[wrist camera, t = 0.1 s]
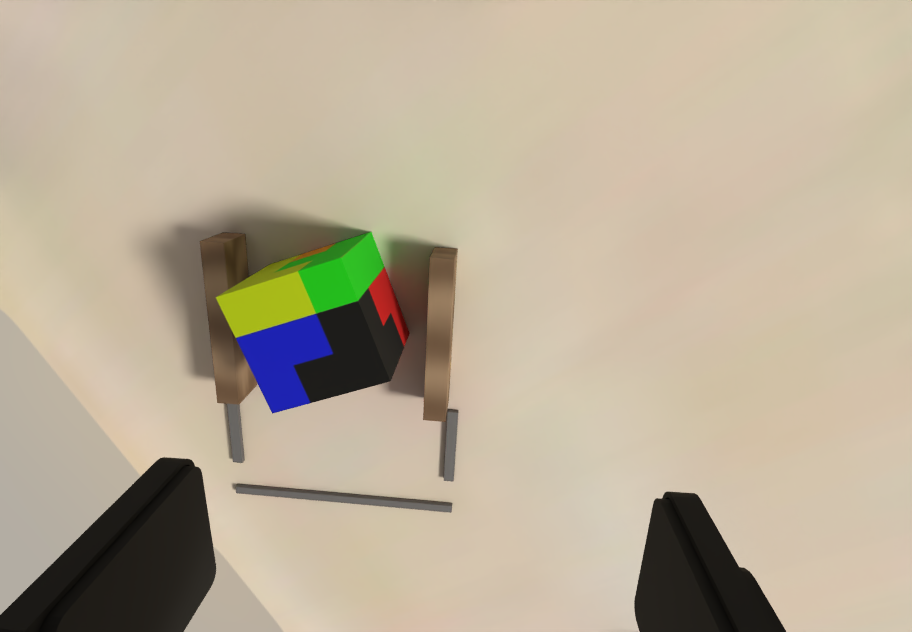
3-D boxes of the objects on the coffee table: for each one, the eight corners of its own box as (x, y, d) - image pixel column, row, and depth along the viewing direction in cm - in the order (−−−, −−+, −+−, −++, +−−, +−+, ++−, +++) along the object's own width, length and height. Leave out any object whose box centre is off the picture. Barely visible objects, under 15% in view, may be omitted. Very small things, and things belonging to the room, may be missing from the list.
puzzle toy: (312, 360, 51) (272, 413, 41) (269, 264, 48) (215, 297, 38) (409, 333, 49) (390, 381, 40) (371, 231, 46) (340, 257, 37)
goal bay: (228, 391, 52) (226, 393, 52) (458, 410, 51) (458, 412, 51) (238, 490, 56) (236, 493, 56) (451, 509, 55) (451, 512, 55)
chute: (223, 232, 47) (199, 241, 43) (457, 248, 46) (454, 259, 42) (237, 383, 52) (217, 402, 48) (448, 400, 51) (445, 421, 47)
